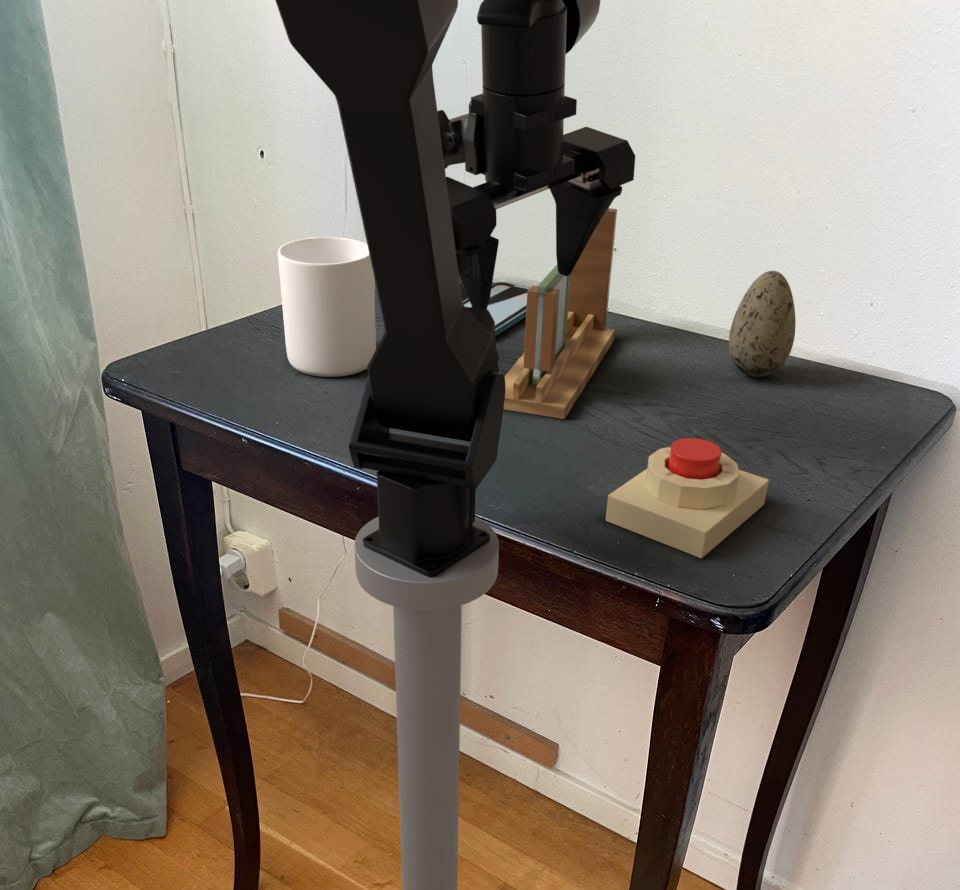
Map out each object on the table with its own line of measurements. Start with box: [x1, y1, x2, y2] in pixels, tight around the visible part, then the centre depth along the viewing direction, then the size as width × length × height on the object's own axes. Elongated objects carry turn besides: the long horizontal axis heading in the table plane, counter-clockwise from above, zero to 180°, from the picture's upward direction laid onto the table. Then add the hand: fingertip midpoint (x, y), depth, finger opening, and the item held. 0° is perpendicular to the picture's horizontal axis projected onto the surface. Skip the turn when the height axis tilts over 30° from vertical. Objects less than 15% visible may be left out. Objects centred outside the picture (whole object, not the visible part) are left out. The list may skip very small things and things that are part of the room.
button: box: [668, 437, 722, 480], centre depth 74 cm, size 4×4×2 cm
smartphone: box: [462, 281, 531, 337], centre depth 111 cm, size 7×1×15 cm
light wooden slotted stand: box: [503, 207, 618, 420], centre depth 95 cm, size 20×7×13 cm, turn 162°
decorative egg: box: [728, 270, 797, 378], centre depth 96 cm, size 6×6×10 cm
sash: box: [523, 264, 571, 386], centre depth 93 cm, size 9×2×9 cm, turn 162°
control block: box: [605, 446, 770, 559], centre depth 76 cm, size 10×8×4 cm
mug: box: [277, 236, 377, 378], centre depth 97 cm, size 9×12×11 cm
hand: (522, 292), depth 81 cm, fingers open, 9 cm apart
